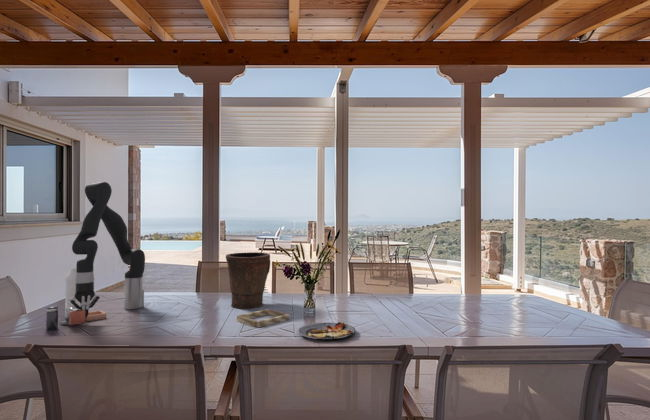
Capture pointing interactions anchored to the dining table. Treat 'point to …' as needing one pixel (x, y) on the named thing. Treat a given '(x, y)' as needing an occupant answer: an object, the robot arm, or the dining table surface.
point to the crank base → (64, 323)
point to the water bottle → (70, 288)
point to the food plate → (327, 330)
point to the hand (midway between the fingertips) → (84, 317)
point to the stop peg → (52, 318)
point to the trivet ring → (247, 320)
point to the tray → (95, 315)
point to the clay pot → (247, 278)
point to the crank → (75, 316)
